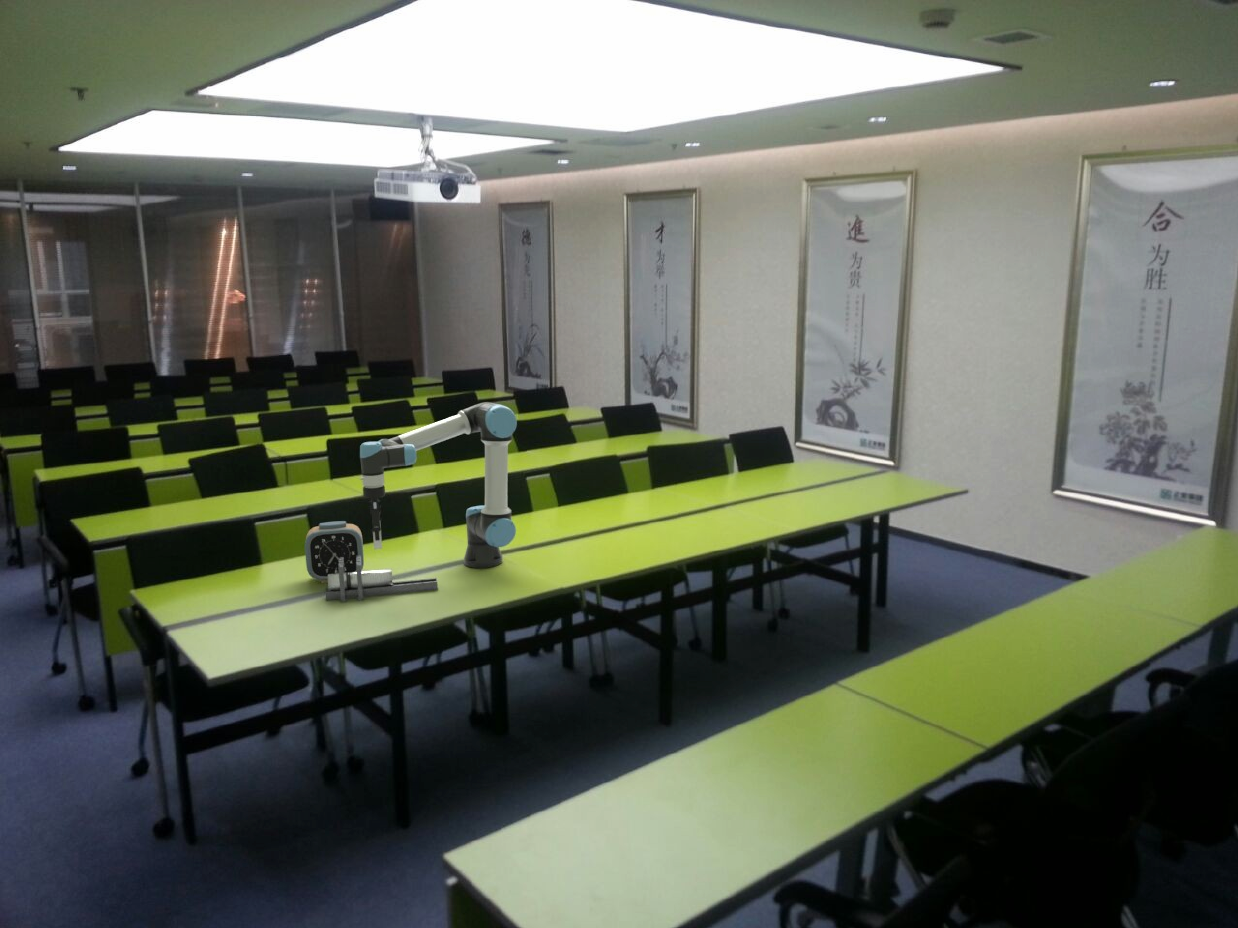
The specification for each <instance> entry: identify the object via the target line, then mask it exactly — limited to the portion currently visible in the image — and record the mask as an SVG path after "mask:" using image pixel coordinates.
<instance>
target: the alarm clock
mask: <svg viewBox="0 0 1238 928" xmlns="http://www.w3.org/2000/svg"><path fill="white" fill-rule="evenodd" d="M304 553H305V565H306V570H307V574H308V575H309V576H310V577H311V578H313V579H315V580H319V581H320V584H325V583H327V584H328V574H336V573H339V569H338V566H339V557H344V568H345V573H346V572H357V570H356V556H360V555H361V565H362V570H363V568H364V566H365V565H364V562H365V561H364V556H365V555H364V543H363V535H362V532H361V529H360V528H359V526H358V525H356V524H353V523H347V521H345V520H341V521H340V520H339V521H327V522H326V521H325V522H320V523H319V524H318V526H313V527H312V528H311V529H309V530H308V532H307V534H306V538H305V542H304Z"/></svg>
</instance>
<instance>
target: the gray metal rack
mask: <svg viewBox="0 0 1238 928" xmlns="http://www.w3.org/2000/svg"><path fill="white" fill-rule="evenodd" d="M338 569H339V582H340V590H336V591H329V589H328V588H327V587H326V588H325V592H324V593H325V595H324V596H325V601H326V602H327V601H328V602H329V601H337V600H340V603H341V604H342V603H346V601H347V600H348V599H358V601H359V602H360V601H361V602H362V601H364V598H367V597H377V596H387V595H388V596H389V595H398V594H399V595H400V594H406V593H407V594H408V593H416V592H417V593H418V592H427V591H428V592H429V591H436V590H437V591H438V590H439V589H438V587H439V585H438V580H437V577H432V578H423V579H422V578H420V579H411V580H400V581H392V584H393V585H388V586H378V587H367V588H362V575H361V571H363V569H362V565H361V555H360V556H356V570H357V583H358V588H357V589H346V590H345V585H344V573H345V568H344V557H339V566H338ZM346 599H347V600H346Z"/></svg>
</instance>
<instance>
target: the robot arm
mask: <svg viewBox="0 0 1238 928" xmlns="http://www.w3.org/2000/svg"><path fill="white" fill-rule="evenodd" d="M517 423H518V422H517V416H516V414H515V412H513V410H512V409H511V408H510V407H508V406H506V405H503V404H499V403H493V402H490V401H489V402H488V401H487V402H486V401H485V402H480V403H477V404H474V405H472V406H469V407H467V408H464V409H461V410H459V411H458V412H457V414H456V415H452V416H449V417H447V418H445V419H442V420H439V421H436V422H432V423H430V424H428V425H425V426H422V427H420V428H416V429H414V430H411V431H408V432H406V433H403V434H399V435H397V436H395V437H392V438H389V439H388V438H381V439H380V440H378V441H366V442H363V443H361V445H360V446H359V459H360V465H361V466H360V467H361V468H360V469H361V477H360V478H359V480H360V481H361V482H362V486H363V487H362V495H363V498H364V499H370V500H369V501H368V505H369V509H370V515H371V518H372V519H371V520H372V528H371V529H370V532H371V533H372V536H373V537H372V539H373V549H374V550H383V544H382V543H383V542H382V528H381V526H382V525H381V521H382V520H383V518H382V517H380V516H381V507H382V504H381V502H382V501H381V500H379V499H381V498H383V497H385V496H386V488H385V482H386V481H385V472H384V469H385V468H386V469H387V468H395V467H402V466H403V467H404V466H405V467H407V466H411V465H414V464H415V463H416V462H417V459H418V458H417V454H418V453H417V451H420V450H423V449H425V448H428V447H431V446H433V445H435V444H436V445H437V444H439V443H441V442H444V441H446V440H449V439H452V438H456V437H457V436H460V435H463V434H466V435H471V434H474V433H479V432H480V441H481V442H482V443H483V444H484V505H476V506H471V507H469V508H467V509H466V513H465V519H466V523H465V524H466V535H467V538H466V540H467V546H466V551H465V554H464V557H463V564H464V565H465V567H468V568H473V569H474V568H475V569H485V568H492V567H496V566H499V565H501V564H502V563H503V554H502V552H501V549H500V548H504V547H506V546H508V545H510V543H511V542H512V541H513V540H514V539H515V538H516V537H515V536H516V532H517V528H516V525H515V523H514V521H513V520H512V509H511V508H510V507H508V482H509V481H508V477H509V476H508V468H509V466H508V465H509V463H508V461H509V457H508V456H509V454H508V452H509V449H508V448H509V447H508V446H509V444H510V443H511V442H512V441H513V434H514V432H515V431H516V429H517V426H518V424H517Z"/></svg>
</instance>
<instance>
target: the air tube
mask: <svg viewBox="0 0 1238 928" xmlns="http://www.w3.org/2000/svg"><path fill="white" fill-rule="evenodd" d="M392 570H393V569H392V568H385V569H383V568H382V569H370V570H362V571H361V575H362V588H367V587H378V586H388V585H393V584H392V582H393V571H392ZM344 585H345V590H346V589H357V588H358V583H357V572H346V573H344ZM327 587H328V589H329V591H336V590H340V582H339V573H336V574H328V582H327Z"/></svg>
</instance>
